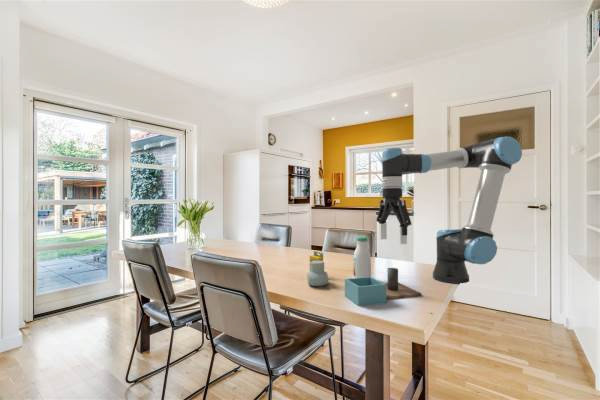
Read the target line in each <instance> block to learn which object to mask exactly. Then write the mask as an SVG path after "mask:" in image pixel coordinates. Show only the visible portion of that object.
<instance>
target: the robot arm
mask: <svg viewBox="0 0 600 400" xmlns="http://www.w3.org/2000/svg"><path fill="white" fill-rule="evenodd" d="M381 153H382V155H381V158H382V159H381V167H382V171H381V172H382V173H381V174H382V177H381V178H382V181H381V182H382V187H383V188H382V198H384V199H380V201H379V203H380V204H379V208H378V212H377V217H376V222H378V224H379V239H380V240H388V239H387V238H388V236H387V235H388V234H387V229H388V228H387V220H388V218H389V215H390V214H391V212H392V213H394V214H395V217H396V219H397V221H398V223H399V228H398V229H399V230H398V232H399V236H398V237H399V241H398V242H399V245H407V244H408V227H409V226H411V225H412V221H411V218H410V214H409V211H408V209H407V202H406V199H402V198H403V188H402V187H403V176H404V175H410V174H425V173H428V172H430V171H431V172H432V171H438V170H443V169H444V170H445V169H451V168H452V169H453V168H458V169H467V168H470V169H471V168H475V169H476V168H477V169H478V168H479V170H480V175H479V179H478V184H477V187H476V189H475V190H476V191H475V195H474V198H473V201H472V205H471V208H470V213H469V217H468V220H467V224H466V225H464V226H462V228H460V229H459V228H458V229H439V230H438V231H437V232H436V263H435V266H434V269H433V271H432V278H433V279H434V280H436V281H439V282H442V283H450V284H465V283H469V282H470V275H469V273H468V270H467V266H466V263H465V262H468V263H470V264H475V265H476V264H477V265H487V264H488V263H490V262H492V261H493V259H494V258H495V256H496V255H497V252H498V246H497V243H496V241H495V240H494V233H493V231H492V230H491V229H492V226H493V222H494V217H495V213H496V211H497V206H498V203H499V199H500V195H501V191H502V187H503V184H504V180H505V176H506V175H507V174H509V173H510V172H511V169H512V167H513V165H515V164H518V162H520V161H521V159H522V155H523V149H522V147H521V145H520V143H519V141H518V140H517V139H515V138H514V137H512V136H501V137H496V138H494V139H493V138H492V139H489V140H485V141H479V142H476V143H474V144H473V143H472V144H470V145H466V146H462V147H457V148H456V149H455V150H450V151H449V150H448V151H442V152H435V153H429V154H427V153H426V154H424V153H418V154H416V153H412V154H411V153H403V150H402V148H401V147H390V148H385V149H383V151H382V152H381Z"/></svg>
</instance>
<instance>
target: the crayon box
mask: <svg viewBox="0 0 600 400" xmlns="http://www.w3.org/2000/svg"><path fill="white" fill-rule="evenodd" d="M312 261H323V262H324V253H323V252H318V251H316V250H314V251H313V254H312V255H309V272H310V271H311V262H312Z"/></svg>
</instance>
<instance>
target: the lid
mask: <svg viewBox="0 0 600 400" xmlns="http://www.w3.org/2000/svg"><path fill="white" fill-rule="evenodd" d="M385 284H386V299H393V300H397V299H396V298H402V299H406V298H405V297H411V298H415V297H414V296H420V297H422V296H421V295H422V292H420V291H418V290H416V289H413V288H411V287H410V286H407V285H404V284H403V283H400V282H399V269H398V268H397V267H388V268H387V283H385Z"/></svg>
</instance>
